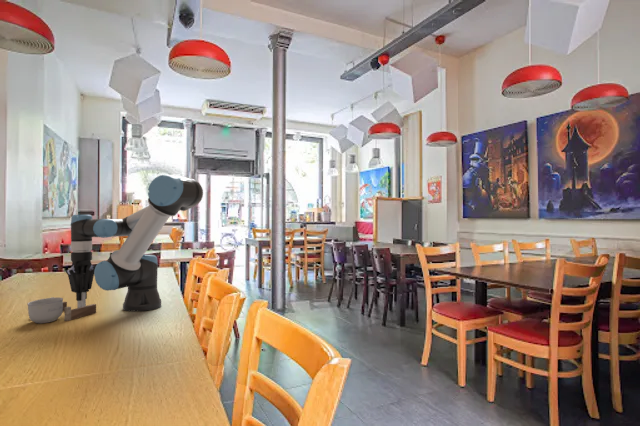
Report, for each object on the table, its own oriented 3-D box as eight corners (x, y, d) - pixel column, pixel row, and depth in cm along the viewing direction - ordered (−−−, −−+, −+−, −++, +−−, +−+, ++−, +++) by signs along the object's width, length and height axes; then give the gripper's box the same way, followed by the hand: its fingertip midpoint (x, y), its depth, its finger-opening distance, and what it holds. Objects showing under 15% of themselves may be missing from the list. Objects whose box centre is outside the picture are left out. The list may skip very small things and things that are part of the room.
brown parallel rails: (96, 312, 153) (96, 300, 153) (67, 321, 141) (67, 307, 141) (64, 309, 158) (64, 298, 158) (33, 317, 146) (33, 304, 146)
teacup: (52, 324, 136) (53, 302, 136) (20, 325, 135) (20, 303, 135) (72, 315, 150) (72, 295, 150) (43, 315, 148) (43, 295, 149)
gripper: (87, 250, 164) (87, 304, 163) (60, 252, 151) (60, 311, 150) (101, 250, 162) (101, 304, 161) (75, 252, 149) (75, 312, 149)
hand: (81, 307), depth 156 cm, fingers closed
